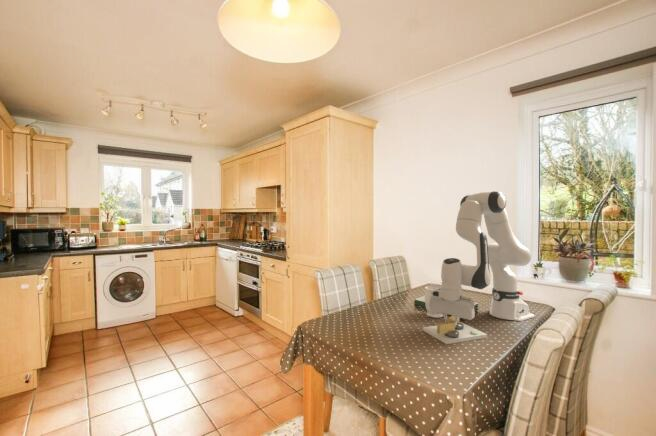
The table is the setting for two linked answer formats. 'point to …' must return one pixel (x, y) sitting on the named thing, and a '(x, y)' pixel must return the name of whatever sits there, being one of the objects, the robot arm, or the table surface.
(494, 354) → the table surface
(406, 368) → the table surface
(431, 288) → the jar
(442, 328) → the knob
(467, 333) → the level plate
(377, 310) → the table surface
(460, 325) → the knob
